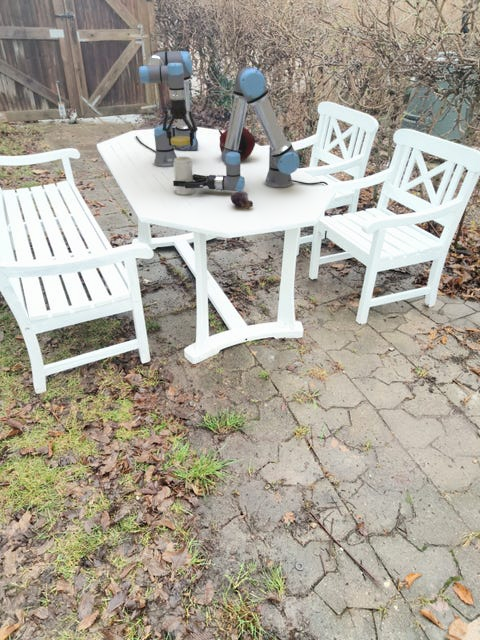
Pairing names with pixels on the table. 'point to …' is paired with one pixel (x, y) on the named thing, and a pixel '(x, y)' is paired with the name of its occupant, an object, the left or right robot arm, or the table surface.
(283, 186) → the right robot arm
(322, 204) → the table surface
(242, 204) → the rock
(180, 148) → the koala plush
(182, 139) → the lid
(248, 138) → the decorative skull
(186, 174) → the jar
